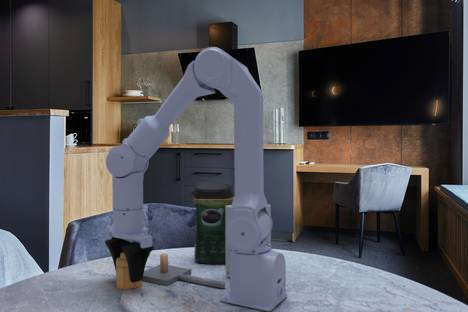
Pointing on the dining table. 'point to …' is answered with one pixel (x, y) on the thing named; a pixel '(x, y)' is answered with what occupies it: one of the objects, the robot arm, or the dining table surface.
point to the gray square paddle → (175, 275)
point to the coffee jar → (211, 220)
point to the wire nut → (124, 274)
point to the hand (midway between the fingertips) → (129, 277)
